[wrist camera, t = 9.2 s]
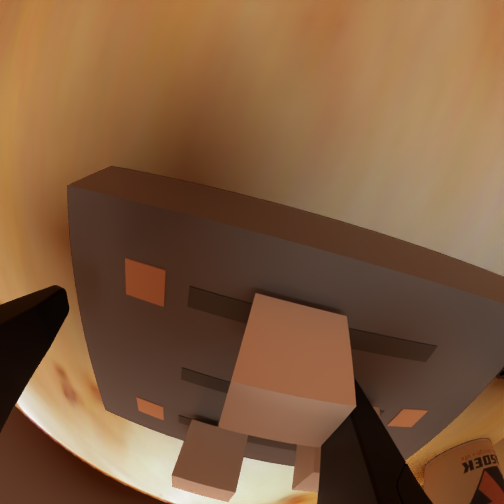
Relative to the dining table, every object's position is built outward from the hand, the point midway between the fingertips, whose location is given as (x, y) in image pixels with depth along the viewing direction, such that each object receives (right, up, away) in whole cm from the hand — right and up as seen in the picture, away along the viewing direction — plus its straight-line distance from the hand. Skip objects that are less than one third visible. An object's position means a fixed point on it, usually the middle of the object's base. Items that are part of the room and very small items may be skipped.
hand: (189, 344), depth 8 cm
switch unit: (+4, -3, +6) cm, 8 cm away
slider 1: (0, -7, +6) cm, 9 cm away
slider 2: (+3, 0, +1) cm, 3 cm away
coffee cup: (+23, -18, +11) cm, 31 cm away
